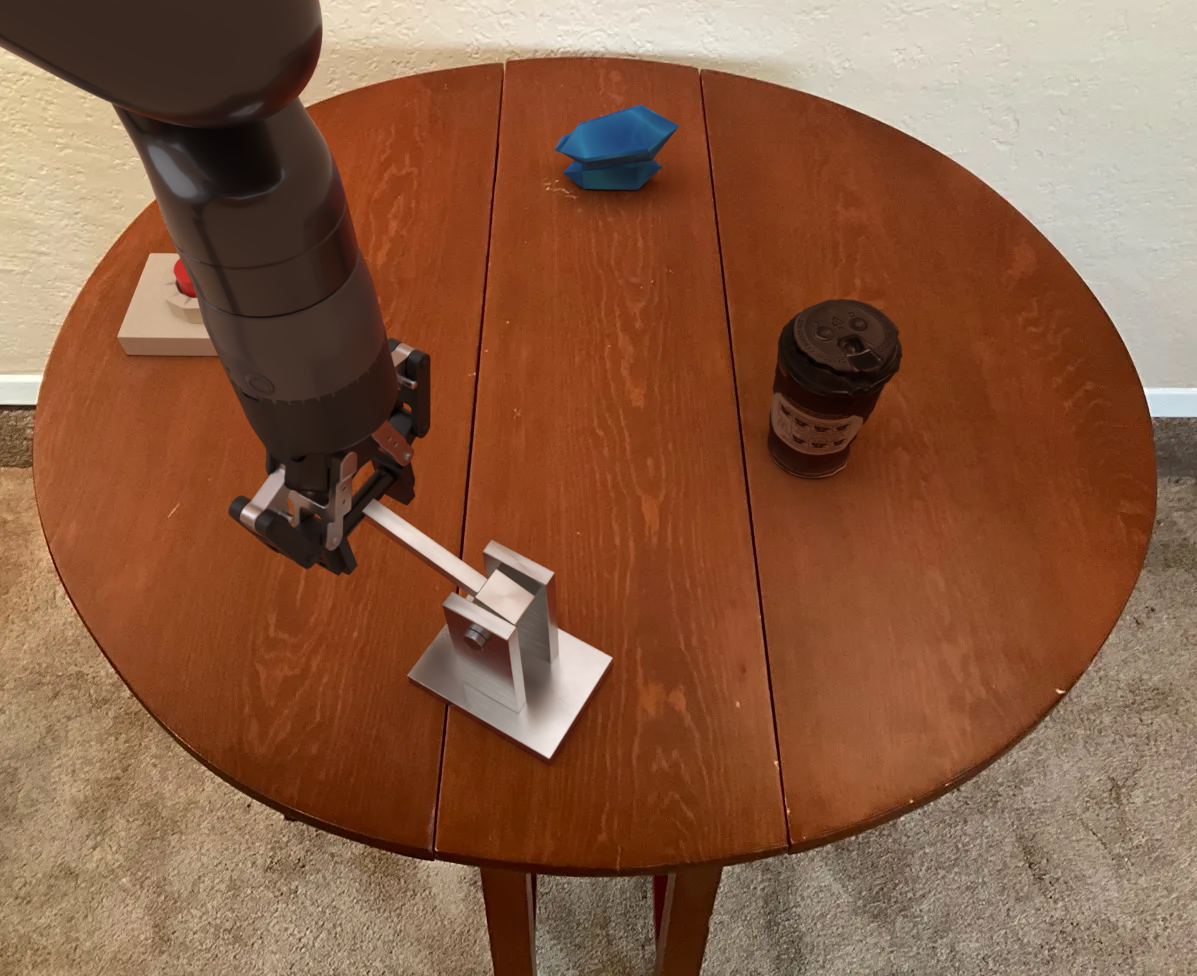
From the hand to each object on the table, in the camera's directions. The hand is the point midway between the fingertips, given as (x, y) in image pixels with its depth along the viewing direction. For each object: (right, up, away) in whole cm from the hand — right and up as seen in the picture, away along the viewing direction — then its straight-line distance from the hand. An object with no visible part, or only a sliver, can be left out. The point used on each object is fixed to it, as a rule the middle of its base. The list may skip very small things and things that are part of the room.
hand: (369, 529), depth 58 cm
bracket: (+8, -10, +6) cm, 14 cm away
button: (-19, +20, +21) cm, 35 cm away
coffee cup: (+30, +5, +17) cm, 35 cm away
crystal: (+15, +32, +35) cm, 50 cm away
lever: (+4, -2, -1) cm, 5 cm away
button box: (-19, +18, +24) cm, 36 cm away
